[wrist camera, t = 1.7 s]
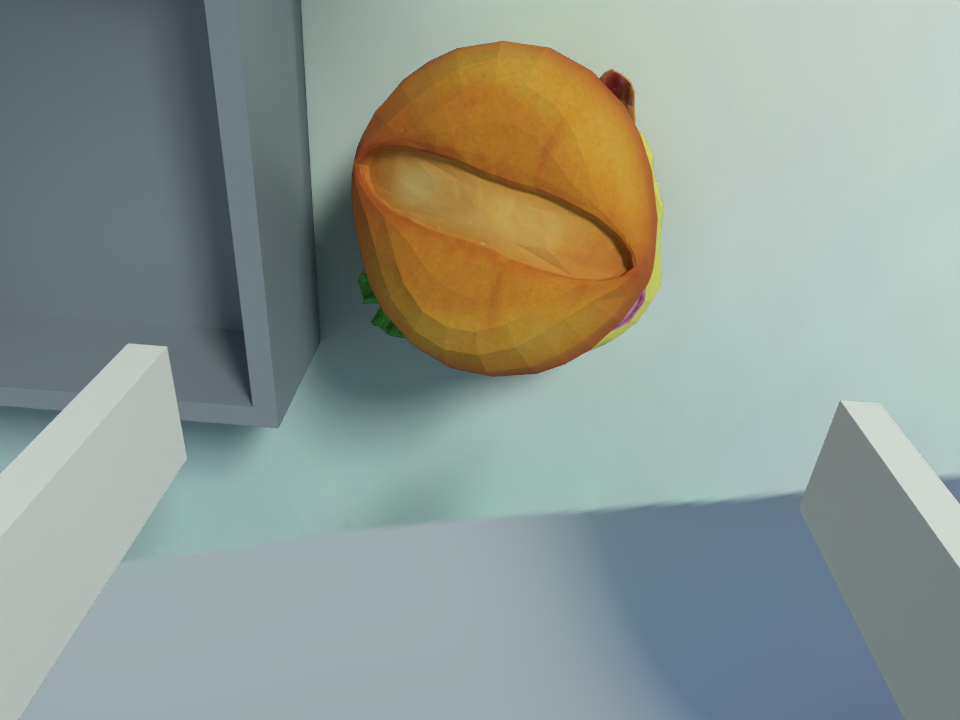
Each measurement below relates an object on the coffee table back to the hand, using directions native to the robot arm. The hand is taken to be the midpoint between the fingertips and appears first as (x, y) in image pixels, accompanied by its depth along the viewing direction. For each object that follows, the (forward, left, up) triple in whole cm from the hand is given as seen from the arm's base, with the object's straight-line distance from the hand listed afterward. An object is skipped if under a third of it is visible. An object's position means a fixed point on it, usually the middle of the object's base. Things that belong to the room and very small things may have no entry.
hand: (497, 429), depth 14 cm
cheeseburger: (0, 0, -14) cm, 14 cm away
